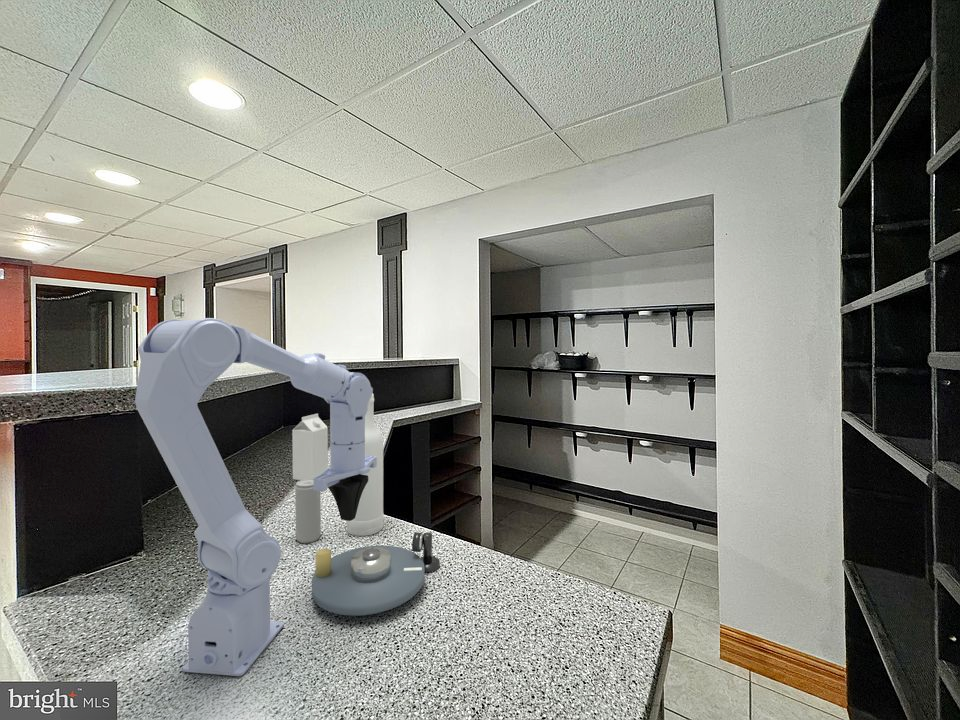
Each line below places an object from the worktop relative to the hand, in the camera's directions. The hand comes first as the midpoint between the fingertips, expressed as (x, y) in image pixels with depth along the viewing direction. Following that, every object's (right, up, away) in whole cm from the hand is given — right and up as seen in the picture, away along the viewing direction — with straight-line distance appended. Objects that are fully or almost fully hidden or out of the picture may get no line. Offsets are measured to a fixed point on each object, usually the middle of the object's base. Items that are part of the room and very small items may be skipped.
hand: (348, 518), depth 72 cm
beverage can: (-13, -10, +15) cm, 22 cm away
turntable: (+5, -9, -3) cm, 11 cm away
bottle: (-2, -10, +20) cm, 22 cm away
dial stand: (+13, -10, +4) cm, 17 cm away
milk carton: (-28, -8, +54) cm, 62 cm away
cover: (+5, -8, -3) cm, 10 cm away
